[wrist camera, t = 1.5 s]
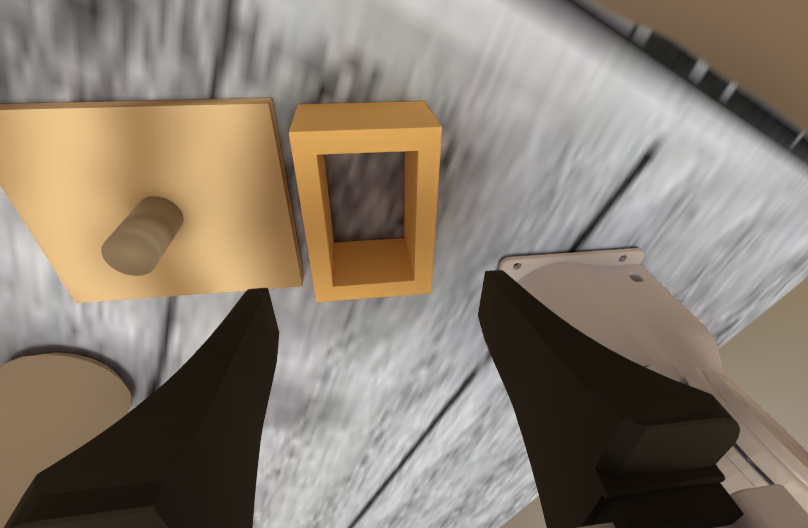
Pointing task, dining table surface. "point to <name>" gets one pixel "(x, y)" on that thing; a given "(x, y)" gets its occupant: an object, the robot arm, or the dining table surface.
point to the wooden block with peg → (153, 195)
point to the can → (51, 415)
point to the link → (421, 140)
